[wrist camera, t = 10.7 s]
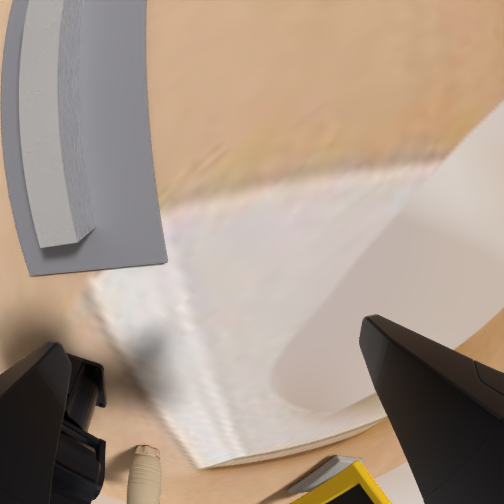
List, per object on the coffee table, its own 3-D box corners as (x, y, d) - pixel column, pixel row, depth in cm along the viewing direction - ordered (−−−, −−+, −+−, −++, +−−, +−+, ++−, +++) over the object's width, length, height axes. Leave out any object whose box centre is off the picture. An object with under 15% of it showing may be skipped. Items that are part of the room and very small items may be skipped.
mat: (167, 260, 19) (166, 262, 19) (32, 273, 18) (30, 275, 18) (150, -54, 10) (149, -57, 10) (15, -1, 9) (13, -2, 9)
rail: (96, 226, 17) (77, 242, 14) (61, 232, 17) (40, 248, 14) (86, -14, 10) (69, -30, 8) (51, 1, 10) (31, -12, 7)
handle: (150, 436, 27) (141, 549, 13) (176, 459, 29) (175, 558, 16) (118, 438, 27) (102, 542, 13) (146, 461, 29) (139, 554, 16)
